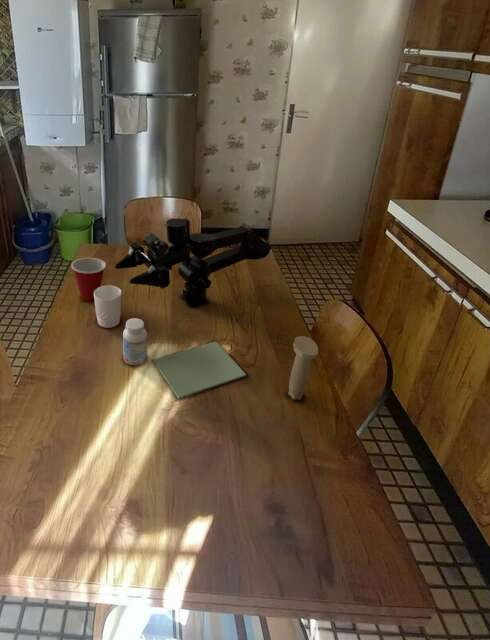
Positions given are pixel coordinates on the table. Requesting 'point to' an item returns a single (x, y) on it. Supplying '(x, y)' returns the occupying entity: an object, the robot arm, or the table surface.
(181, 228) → the robot arm
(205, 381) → the mat
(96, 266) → the plastic cup
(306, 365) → the handle
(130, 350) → the pill bottle
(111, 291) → the white cup
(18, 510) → the table surface
